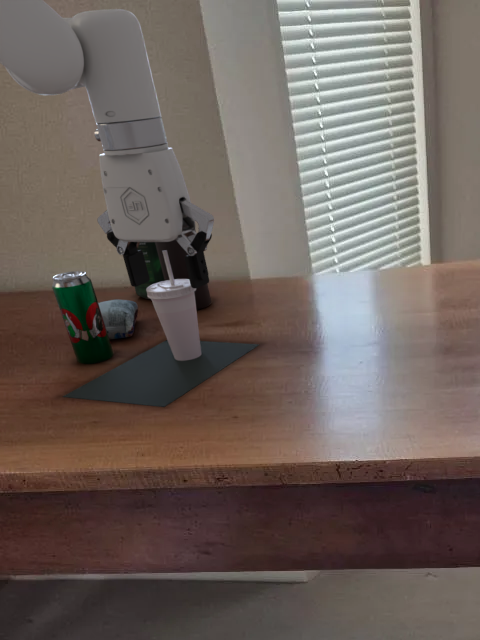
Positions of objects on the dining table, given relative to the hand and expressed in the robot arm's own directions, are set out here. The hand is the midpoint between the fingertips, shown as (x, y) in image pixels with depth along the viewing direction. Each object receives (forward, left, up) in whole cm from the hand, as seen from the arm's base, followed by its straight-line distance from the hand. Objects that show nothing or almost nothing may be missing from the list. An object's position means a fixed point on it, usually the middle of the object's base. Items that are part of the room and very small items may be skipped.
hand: (170, 284), depth 96 cm
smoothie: (0, 0, -10) cm, 10 cm away
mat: (0, -5, -10) cm, 11 cm away
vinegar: (-16, +23, -10) cm, 30 cm away
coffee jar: (-27, +30, -10) cm, 42 cm away
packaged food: (-20, +7, -10) cm, 24 cm away
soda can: (-14, -3, -10) cm, 18 cm away
